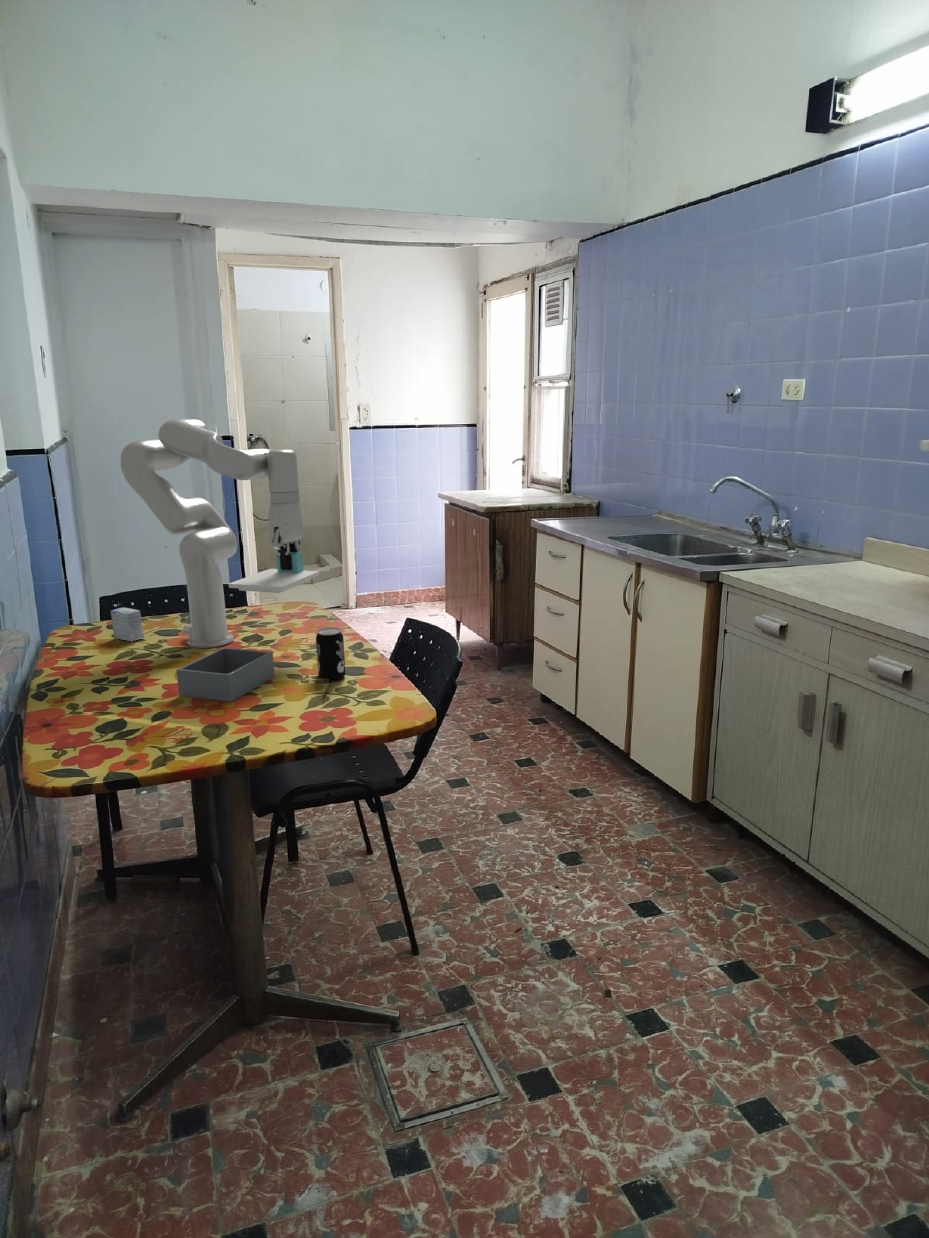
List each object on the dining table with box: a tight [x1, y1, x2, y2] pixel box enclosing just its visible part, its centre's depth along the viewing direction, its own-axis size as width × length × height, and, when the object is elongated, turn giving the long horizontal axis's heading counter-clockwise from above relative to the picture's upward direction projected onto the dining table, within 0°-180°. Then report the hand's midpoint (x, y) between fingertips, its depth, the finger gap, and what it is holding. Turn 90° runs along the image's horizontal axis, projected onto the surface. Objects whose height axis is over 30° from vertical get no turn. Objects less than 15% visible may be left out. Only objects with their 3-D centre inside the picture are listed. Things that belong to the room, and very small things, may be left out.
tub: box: [175, 646, 276, 703], centre depth 193 cm, size 14×18×7 cm
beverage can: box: [315, 627, 346, 682], centre depth 198 cm, size 7×7×12 cm
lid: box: [228, 551, 321, 594], centre depth 209 cm, size 15×19×7 cm
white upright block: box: [110, 607, 145, 642], centre depth 235 cm, size 8×4×9 cm, turn 58°
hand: (290, 567), depth 216 cm, fingers closed on lid, 3 cm apart
